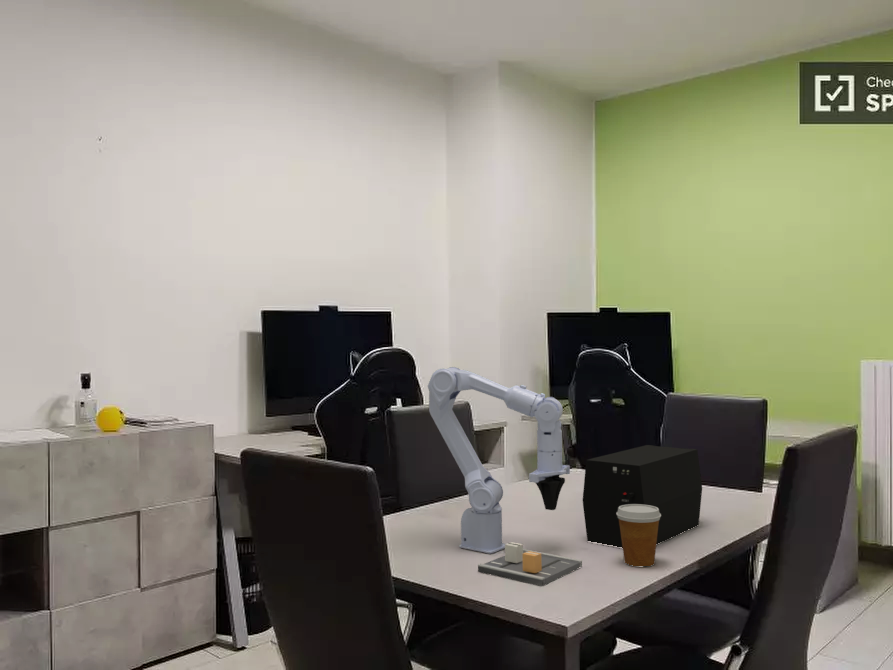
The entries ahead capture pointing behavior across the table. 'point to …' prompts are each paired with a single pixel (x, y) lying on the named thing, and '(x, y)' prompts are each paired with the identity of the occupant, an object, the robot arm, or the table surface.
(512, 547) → the fader
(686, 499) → the uninterruptible power supply
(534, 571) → the block
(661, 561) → the table surface
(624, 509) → the disposable coffee cup
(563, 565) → the fader board
